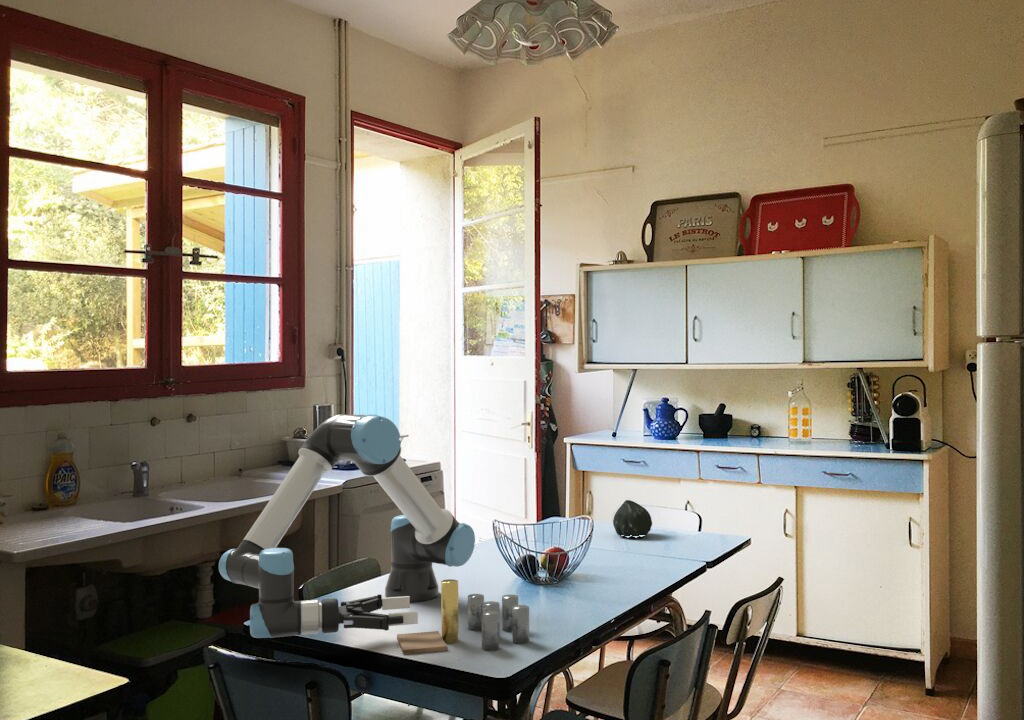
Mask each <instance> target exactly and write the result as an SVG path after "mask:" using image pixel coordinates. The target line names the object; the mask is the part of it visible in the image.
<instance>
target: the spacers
mask: <svg viewBox="0 0 1024 720" xmlns="http://www.w3.org/2000/svg"><path fill="white" fill-rule="evenodd" d="M501 609H502V610H501V611H502V612H501V614H502V616H501V620H502V621H501V627H502V631H504V632H511V633H512V634H511V636H512V637H511V639H512V643H513V644H516V645H517V644H518V645H524V644H528V643H530V607H529V605H525V604H519V596H518V595H516V594H503V595H502V596H501ZM467 628H468V630H469V631H473V632H474V631H475V632H477V631H481V649H482V651H487V652H494V651H495V652H496V651H497V650H500V634H501V633H500V631H501V630H500V602H499V601H492V600H491V601H485V596H484V594H482V593H472V594H468V595H467Z"/></svg>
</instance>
